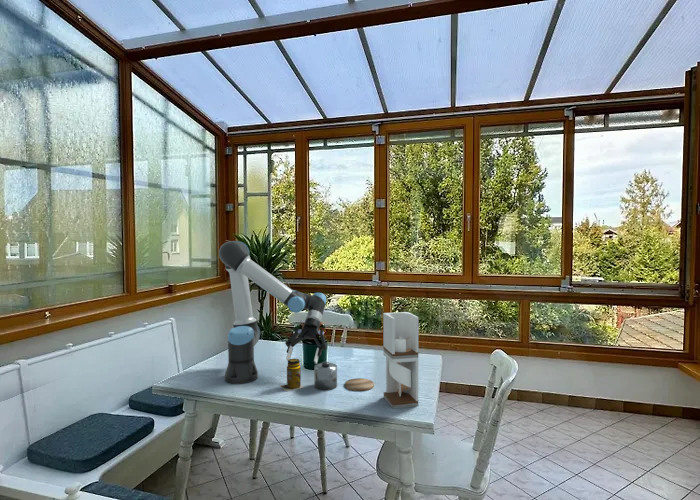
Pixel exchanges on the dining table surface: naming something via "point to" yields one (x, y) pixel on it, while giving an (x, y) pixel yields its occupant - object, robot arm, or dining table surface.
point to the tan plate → (359, 384)
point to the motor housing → (325, 376)
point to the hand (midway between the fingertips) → (301, 361)
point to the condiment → (293, 375)
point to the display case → (401, 358)
